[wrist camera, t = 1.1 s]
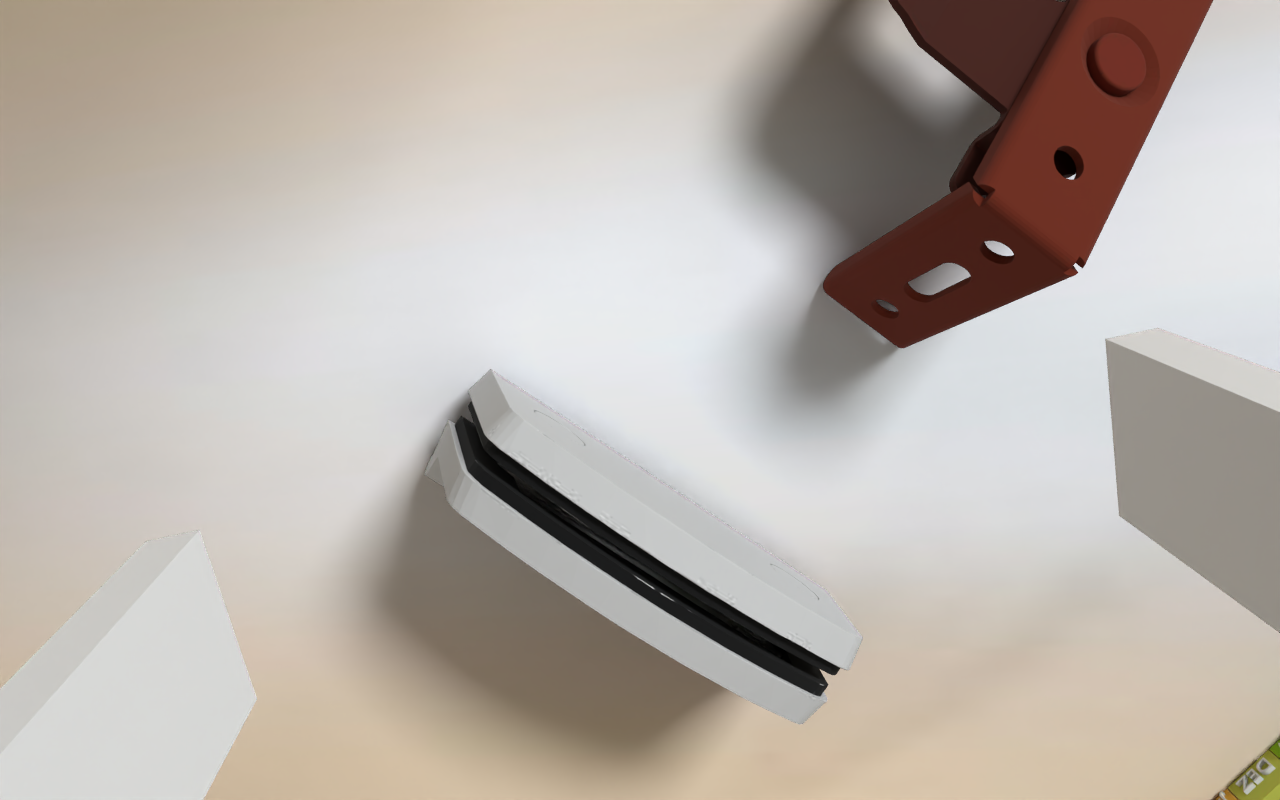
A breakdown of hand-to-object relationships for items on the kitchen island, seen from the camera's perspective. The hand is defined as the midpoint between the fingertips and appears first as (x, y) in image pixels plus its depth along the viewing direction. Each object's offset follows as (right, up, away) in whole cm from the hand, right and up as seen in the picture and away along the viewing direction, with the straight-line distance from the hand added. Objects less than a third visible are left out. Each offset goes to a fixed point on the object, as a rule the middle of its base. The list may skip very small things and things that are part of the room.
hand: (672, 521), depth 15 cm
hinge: (-1, -3, +28) cm, 28 cm away
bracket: (+9, +12, +27) cm, 31 cm away
